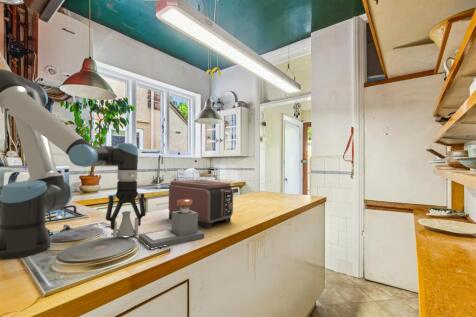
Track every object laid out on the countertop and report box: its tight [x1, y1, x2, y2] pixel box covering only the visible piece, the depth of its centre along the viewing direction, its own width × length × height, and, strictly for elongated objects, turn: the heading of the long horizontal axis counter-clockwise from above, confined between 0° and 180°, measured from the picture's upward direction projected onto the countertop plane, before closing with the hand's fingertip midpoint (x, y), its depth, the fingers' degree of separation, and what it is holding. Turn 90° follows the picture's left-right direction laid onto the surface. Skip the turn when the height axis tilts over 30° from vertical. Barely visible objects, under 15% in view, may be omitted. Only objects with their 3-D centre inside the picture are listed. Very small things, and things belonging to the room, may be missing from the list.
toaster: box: [168, 179, 234, 229], centre depth 127 cm, size 19×36×21 cm, turn 53°
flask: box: [117, 210, 136, 238], centre depth 99 cm, size 7×7×10 cm
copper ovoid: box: [177, 199, 193, 214], centre depth 101 cm, size 6×6×8 cm
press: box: [138, 210, 205, 249], centre depth 97 cm, size 22×14×10 cm, turn 130°
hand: (125, 235), depth 99 cm, fingers closed on flask, 8 cm apart
